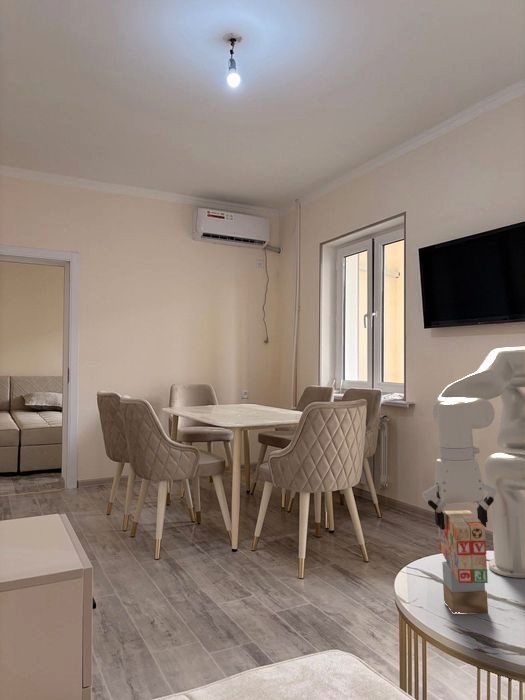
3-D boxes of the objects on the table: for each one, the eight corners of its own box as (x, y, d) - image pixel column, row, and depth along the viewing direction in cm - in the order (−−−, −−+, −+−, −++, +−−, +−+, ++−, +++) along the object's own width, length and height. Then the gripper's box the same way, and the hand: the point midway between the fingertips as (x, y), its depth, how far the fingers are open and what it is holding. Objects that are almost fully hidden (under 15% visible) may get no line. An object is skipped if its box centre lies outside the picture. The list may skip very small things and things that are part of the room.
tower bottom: (477, 602, 126) (476, 580, 126) (488, 613, 120) (486, 591, 120) (444, 603, 126) (443, 582, 126) (453, 615, 120) (451, 593, 120)
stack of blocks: (438, 548, 135) (435, 500, 135) (463, 548, 134) (461, 499, 135) (458, 583, 114) (455, 526, 114) (488, 583, 113) (485, 525, 113)
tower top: (475, 581, 126) (473, 559, 126) (485, 591, 121) (483, 568, 121) (443, 582, 126) (442, 561, 126) (452, 592, 121) (450, 570, 121)
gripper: (486, 449, 128) (491, 520, 127) (415, 453, 128) (420, 524, 128) (500, 454, 120) (505, 529, 120) (424, 458, 121) (429, 534, 120)
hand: (461, 526), depth 124 cm, fingers open, 9 cm apart
